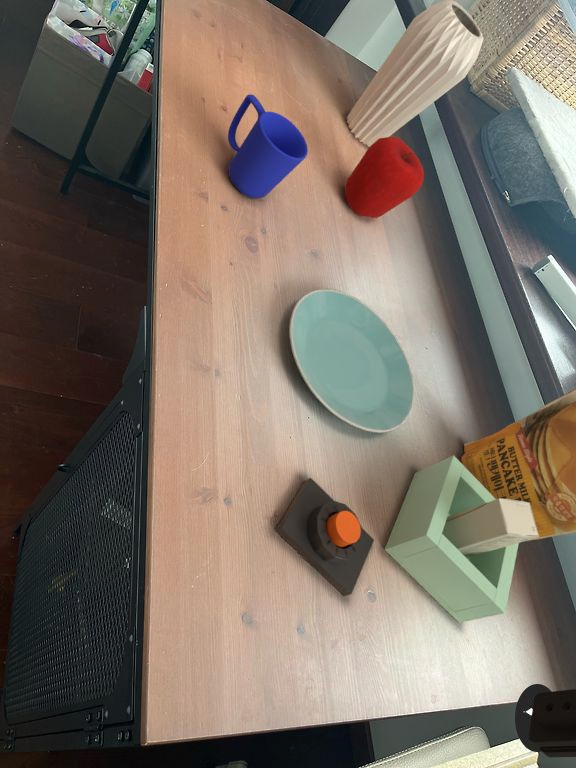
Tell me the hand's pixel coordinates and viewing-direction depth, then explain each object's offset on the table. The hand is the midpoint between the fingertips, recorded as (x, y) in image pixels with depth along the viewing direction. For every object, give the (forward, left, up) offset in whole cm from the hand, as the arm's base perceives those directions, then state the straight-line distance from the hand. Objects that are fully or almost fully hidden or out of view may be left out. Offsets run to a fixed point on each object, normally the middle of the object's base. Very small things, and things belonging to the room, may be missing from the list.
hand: (540, 724), depth 39 cm
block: (+6, -20, -27) cm, 34 cm away
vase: (+38, -99, -27) cm, 110 cm away
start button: (+6, -20, -24) cm, 32 cm away
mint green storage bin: (-9, -32, -27) cm, 43 cm away
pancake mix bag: (-14, -46, -27) cm, 55 cm away
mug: (+45, -58, -27) cm, 78 cm away
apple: (+29, -78, -27) cm, 88 cm away
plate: (+15, -44, -27) cm, 54 cm away
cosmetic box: (-9, -32, -26) cm, 42 cm away
